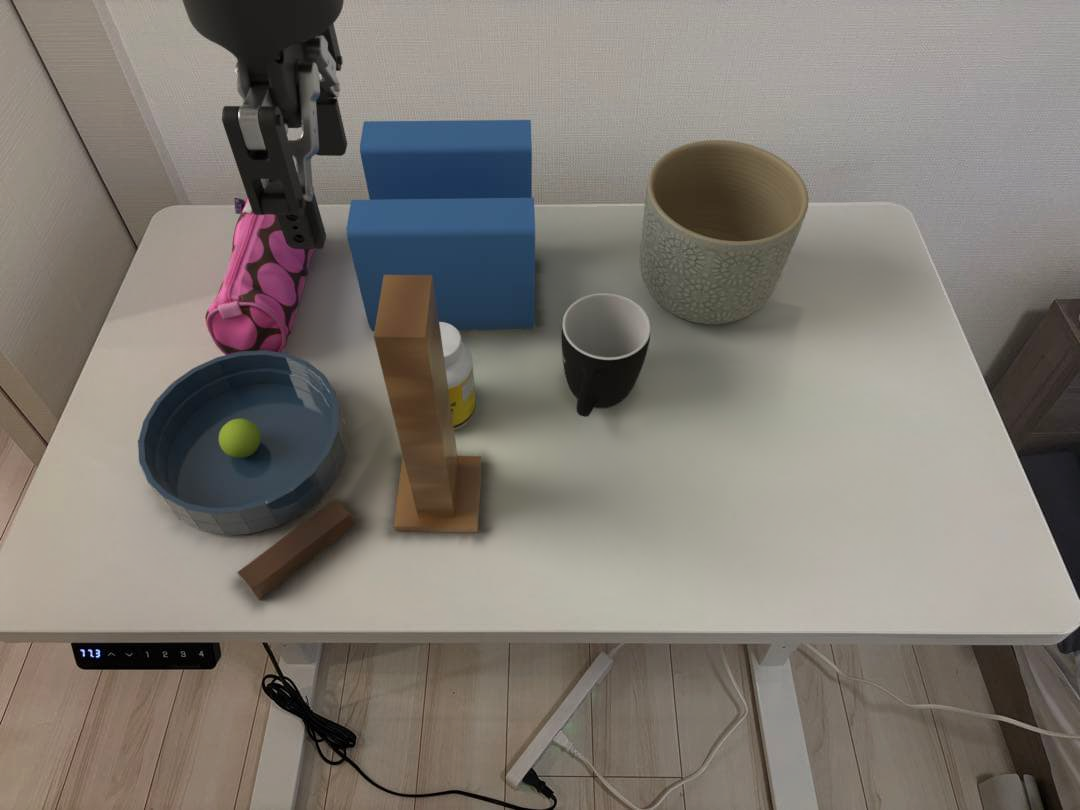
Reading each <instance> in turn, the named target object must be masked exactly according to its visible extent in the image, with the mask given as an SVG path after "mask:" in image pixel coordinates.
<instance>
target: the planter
mask: <svg viewBox="0 0 1080 810" xmlns="http://www.w3.org/2000/svg"><path fill="white" fill-rule="evenodd" d="M644 198H645V199H644V207H643V208H644V209H643V217H642V227H641V236H640V246H639V267H640V268H639V269H640V273H641V278H642V281H643V283H644V286H645V289H646V290H647V292H648V293H649V295H650V296H651V297H652V298H653V299H654V300H655V302H656V303H658V305H660V307H662V308H663V309H665V310H666V311H667V312H668V313H671V314H672V315H673V316H676V317H678V318H680V319H683V320H685V321H689V322H692V323H697V324H704V325H721V324H722V325H723V324H728V323H732V322H736V321H739V320H742V319H744V318H746V317H748V316H750V315H751V314H753V313H754V312H756V311H757V310H759V309H760V308H761V307H762V306H763V305H764V304H765V303H766V302H767V301H768V300H769V298H770V297H771V295H772V294H773V292H774V291H775V289H776V287H777V285H778V283H779V281H780V279H781V276H782V275H783V271H784V269H785V267H786V264H787V263H788V259H789V257H790V255H791V252H792V250H793V248H794V246H795V243H796V241H797V238H798V236H799V234H800V231H801V229H802V226H803V223H804V221H805V218H806V215H807V213H808V208H809V193H808V189H807V187H806V184H805V182H804V180H803V178H802V176H800V174H799V173H798V172H797V170H795V168H793V166H791V165H790V164H789V162H787V161H785V160H784V159H783V158H782V157H779V156H777V155H776V154H775V153H772V152H770V151H768V150H766V149H763V148H761V147H758V146H756V145H752V144H749V143H745V142H740V141H734V140H724V139H709V140H708V139H707V140H700V141H693V142H688V143H686V144H685V143H684V144H683V145H680V146H677V147H676V148H673V149H671V150H669V151H667V152H666V153H665V154H664V155H662V156H661V157H660V158H659V159H657V161H656V162H655V163H654V165H653V166H652V168H651V169H650V172H649V174H648V178H647V184H646V189H645V197H644Z"/></svg>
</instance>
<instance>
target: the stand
mask: <svg viewBox="0 0 1080 810" xmlns="http://www.w3.org/2000/svg"><path fill="white" fill-rule="evenodd" d="M373 340H374V343H375V347H376V352H377V355H378V360H379V364H380V367H381V372H382V378H383V380H384V385H385V389H386V392H387V397H388V401H389V404H390V409H391V413H392V417H393V421H394V425H395V429H396V433H397V437H398V442H399V446H400V450H401V455H402V457H401V465H400V473H399V480H398V481H399V482H398V488H397V489H398V490H397V498H396V505H395V514H394V522H393V528H394V530H395V532H397V533H398V532H399V533H400V532H401V533H404V532H405V533H478V532H479V516H480V502H481V501H480V500H481V482H482V481H481V480H482V463H483V462H482V456H481V455H479V456H478V455H476V456H475V455H458V448H457V441H456V436H455V435H456V434H455V430H454V426H453V419H452V412H451V404H450V397H449V390H448V383H447V375H446V368H445V361H444V354H443V346H442V339H441V332H440V325H439V318H438V310H437V303H436V296H435V289H434V281H433V276H432V275H384V278H383V284H382V290H381V296H380V302H379V308H378V314H377V320H376V326H375V332H374V333H373Z"/></svg>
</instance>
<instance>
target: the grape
mask: <svg viewBox="0 0 1080 810" xmlns="http://www.w3.org/2000/svg"><path fill="white" fill-rule="evenodd" d="M260 442H261V434H260V431H259V429H258V427H257V426H256V425H255V424H254V423H253V422H251V421H249V420H246V419H234V420H231V421H229V422H228V423H226V424H225V425H224V426H223V427H222V429H221V431H220V433H219V444H220V447H221V449H222V450H223V451H224V452H225V453H226V454H227V455H229V456H231V457H234V458H245V457H248V456H250V455H252V454H253V453H254V452H256V450H257V449H258V447H259V445H260Z"/></svg>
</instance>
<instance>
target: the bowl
mask: <svg viewBox="0 0 1080 810" xmlns="http://www.w3.org/2000/svg"><path fill="white" fill-rule="evenodd" d="M234 419H246V420H249V421H251V422H253V423H254V424H255V425H256V426H257V427H258V429H259V431H260V434H261V442H260V445H259V447H258V449H257V450H256V452H254V453H253V454H252V455H250V456H248V457H245V458H234V457H231V456H229V455H227V454H226V453H225V452H224V451H223V450H222V449H221V447H220V444H219V433H220V431H221V429H222V427H223V426H224V425H225V424H226V423H228V422H229V421H231V420H234ZM348 435H349V432H348V429H347V424H346V421H345V417H344V413H343V409H342V408H341V405H340V402H339V399H338V395H337V392H336V390H335V389H334V387H333V385H332V384H331V382H330V380H329V379H328V378H327V376H326V375H325V374H324V373H323V372H321V370H319V369H318V368H316V367H315V366H314V365H313V364H311V362H309V361H307V360H304V359H301V358H300V357H297V356H295V355H293V354H290V353H287V352H286V353H285V352H282V353H280V352H274V351H268V350H261V351H242V352H237V353H233V354H229V355H225V354H224V355H221V356H217V357H215V358H212V359H210V360H207V361H206V362H203V363H201V364H199V365H197V366H195V367H192V368H191V369H190V370H188V371H187V372H185V373H184V374H183V375H181V376H179V377H177V379H175V380H174V381H172V383H170V385H169V386H168V387H166V389H165V390H164V391H163V392H162V393H161V394H160V395H159V396H158V397H157V398H156V399H155V401H154V402H153V404H152V406H151V407H150V409H149V411H148V413H147V414H146V416H145V418H144V420H143V421H142V426H141V429H140V433H139V436H138V440H137V450H138V463H139V466H140V468H141V471H142V473H143V475H144V477H145V480H146V481H147V483H148V485H149V486H150V487H151V489H152V490H153V491H154V492H155V494H156V495H157V497H159V499H160V500H161V502H162V503H163V504H164V505H165V506H166V508H168V510H169V511H170V512H172V513H173V514H174V515H175V516H176V517H177V518H178V520H180V521H181V522H184V523H186V524H188V525H190V526H192V527H194V528H195V529H197V530H200V531H202V532H203V531H204V532H209V533H214V534H220V535H224V536H225V535H226V536H230V535H231V536H232V535H233V536H234V535H248V534H250V535H251V534H255V533H259V532H262V531H265V530H269V529H272V528H276V527H279V526H281V525H283V524H286V523H287V522H289V521H291V520H293V519H294V518H296V517H298V516H300V515H302V514H303V513H306V511H307V510H309V509H311V507H312V506H313V505H314V504H316V502H318V501H319V500H320V499H321V498H323V497H324V496H325V494H326V493H327V492H328V491H329V489H330V487H332V485H333V484H334V482H335V481H336V479H338V477H339V475H340V473H341V469H342V467H343V464H344V462H345V459H346V457H347V451H348V450H347V449H348V439H349V436H348Z"/></svg>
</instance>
